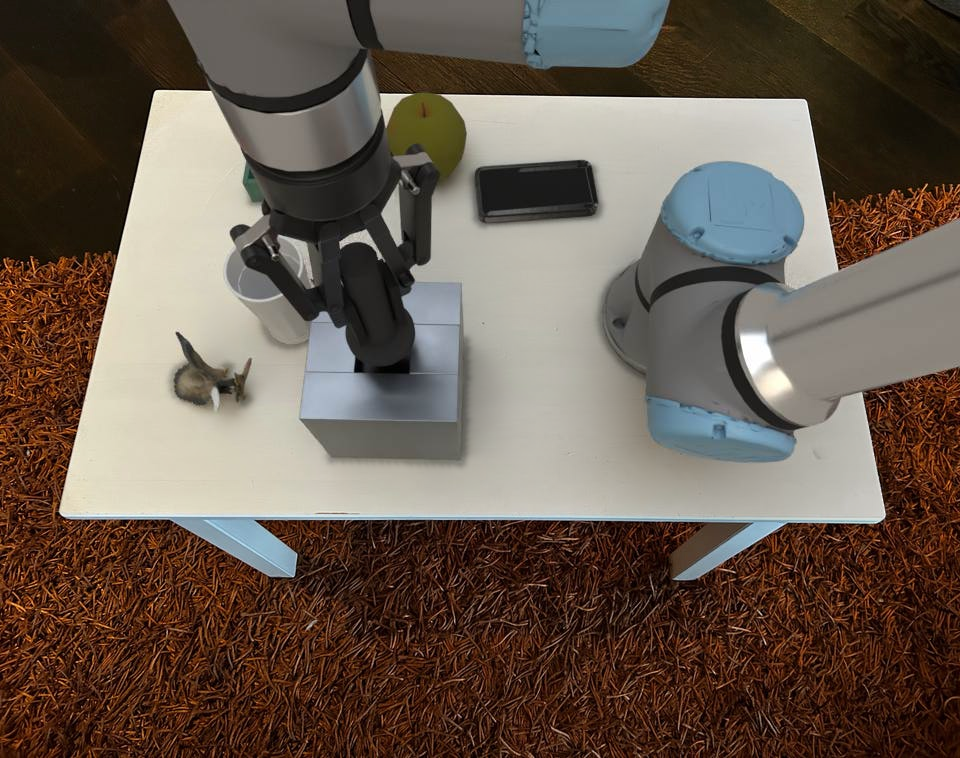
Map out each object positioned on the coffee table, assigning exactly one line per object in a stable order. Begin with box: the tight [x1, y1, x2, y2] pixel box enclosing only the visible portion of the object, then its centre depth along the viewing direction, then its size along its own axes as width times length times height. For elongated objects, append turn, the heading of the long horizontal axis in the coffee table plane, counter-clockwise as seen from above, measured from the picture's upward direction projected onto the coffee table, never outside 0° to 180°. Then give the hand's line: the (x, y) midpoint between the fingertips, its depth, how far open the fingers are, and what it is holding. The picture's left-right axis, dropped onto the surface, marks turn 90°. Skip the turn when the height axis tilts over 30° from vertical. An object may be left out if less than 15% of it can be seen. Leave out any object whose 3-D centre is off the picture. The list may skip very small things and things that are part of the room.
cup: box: [222, 235, 312, 345], centre depth 71 cm, size 8×8×12 cm
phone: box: [474, 159, 599, 223], centre depth 82 cm, size 8×1×15 cm
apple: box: [385, 91, 468, 183], centre depth 79 cm, size 10×10×11 cm
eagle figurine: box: [172, 331, 253, 413], centre depth 71 cm, size 8×7×9 cm
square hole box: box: [298, 281, 465, 461], centre depth 66 cm, size 14×14×14 cm
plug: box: [339, 241, 415, 366], centre depth 53 cm, size 6×6×15 cm
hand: (377, 322), depth 55 cm, fingers closed on plug, 3 cm apart
